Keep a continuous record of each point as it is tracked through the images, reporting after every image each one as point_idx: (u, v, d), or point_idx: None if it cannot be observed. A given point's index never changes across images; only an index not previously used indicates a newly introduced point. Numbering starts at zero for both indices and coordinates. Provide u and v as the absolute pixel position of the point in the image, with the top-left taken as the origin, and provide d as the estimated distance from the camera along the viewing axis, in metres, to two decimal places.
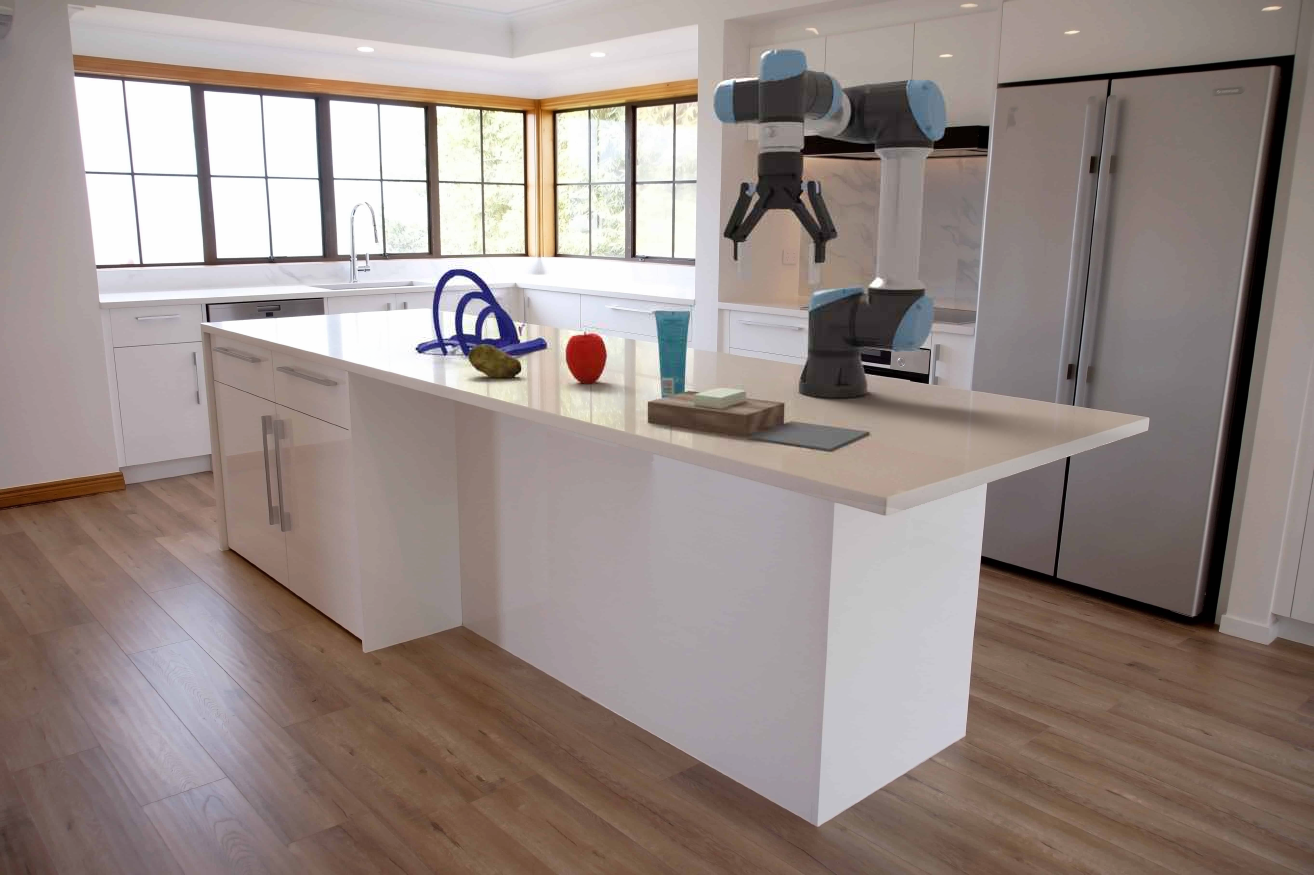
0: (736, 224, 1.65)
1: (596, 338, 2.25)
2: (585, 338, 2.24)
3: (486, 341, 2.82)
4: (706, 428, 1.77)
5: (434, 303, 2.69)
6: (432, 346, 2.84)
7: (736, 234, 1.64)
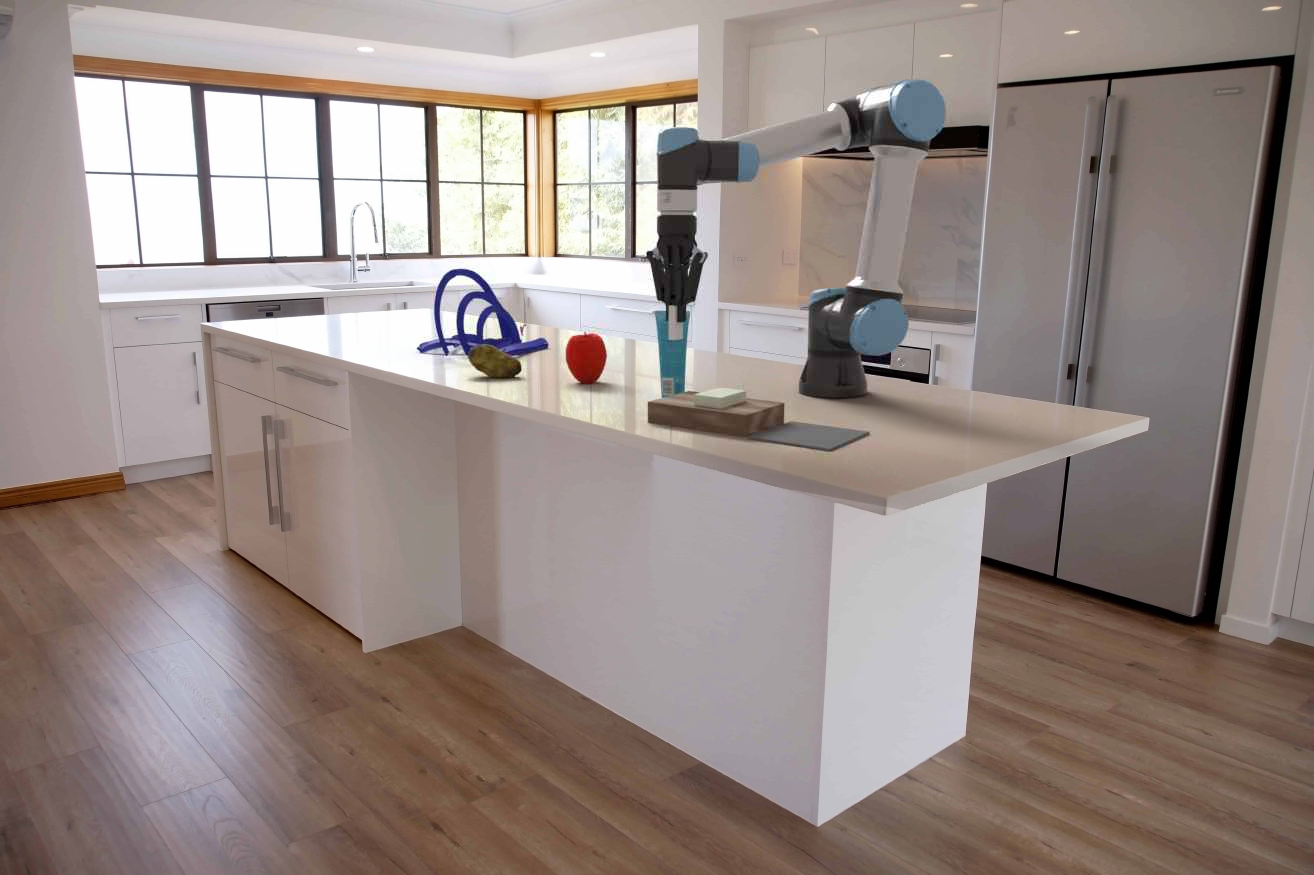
0: (662, 286, 1.85)
1: (596, 338, 2.25)
2: (585, 338, 2.24)
3: (487, 341, 2.82)
4: (706, 428, 1.77)
5: (435, 303, 2.69)
6: (434, 346, 2.84)
7: (665, 298, 1.84)
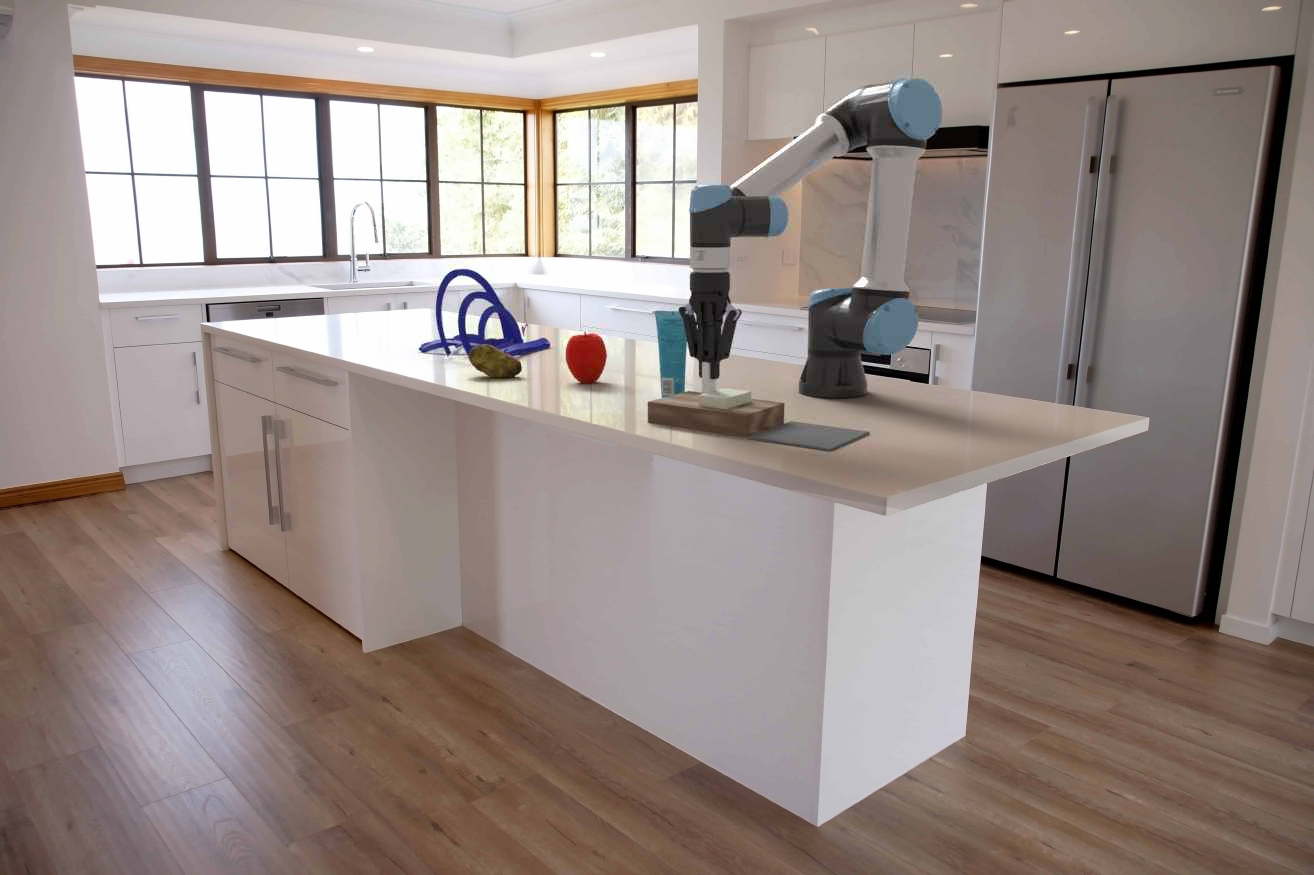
0: (695, 342, 1.83)
1: (596, 338, 2.25)
2: (585, 338, 2.24)
3: (489, 341, 2.82)
4: (706, 428, 1.77)
5: (437, 303, 2.69)
6: (435, 346, 2.84)
7: (698, 355, 1.82)
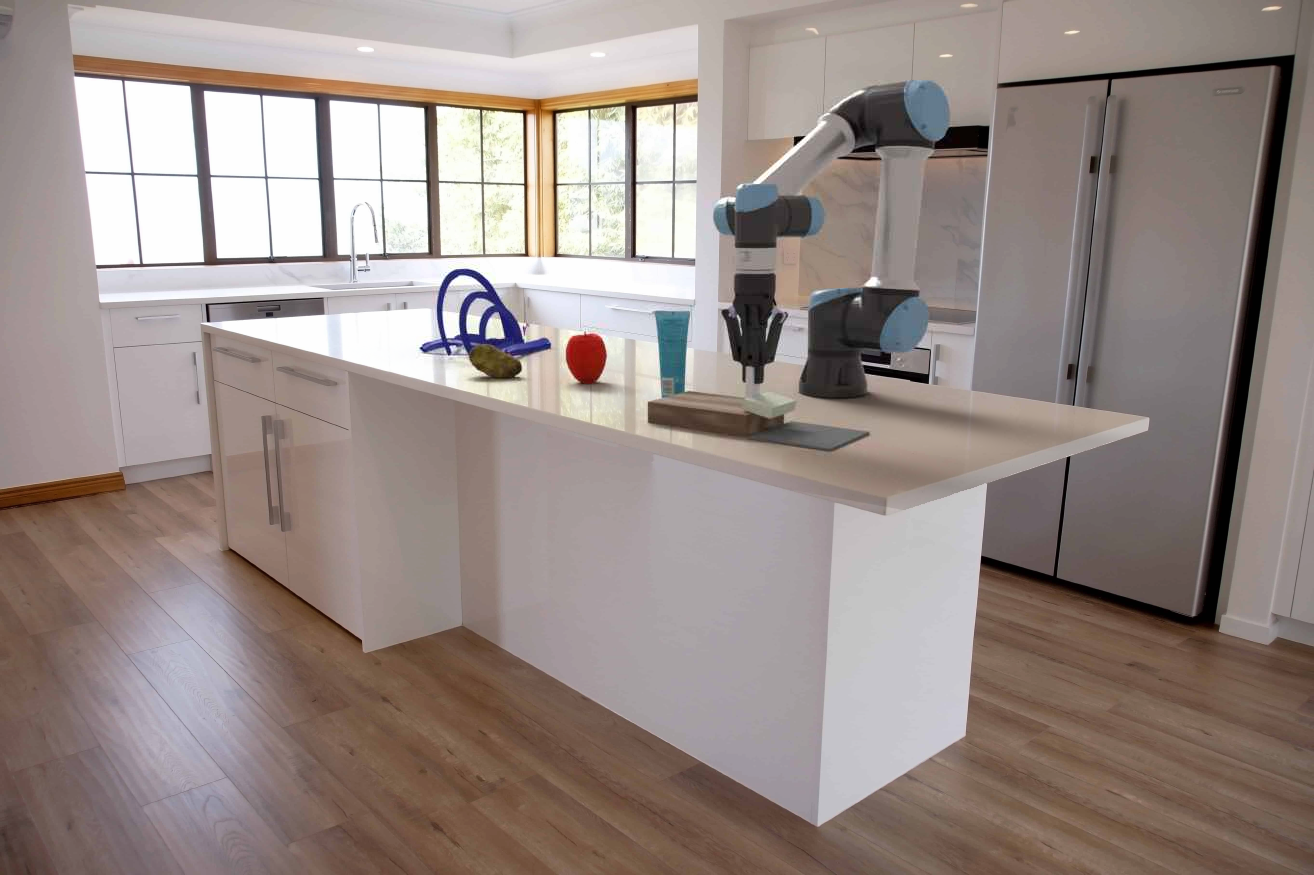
0: (738, 346, 1.78)
1: (596, 338, 2.25)
2: (585, 338, 2.24)
3: (490, 341, 2.82)
4: (706, 428, 1.77)
5: (438, 303, 2.69)
6: (436, 346, 2.84)
7: (742, 359, 1.76)
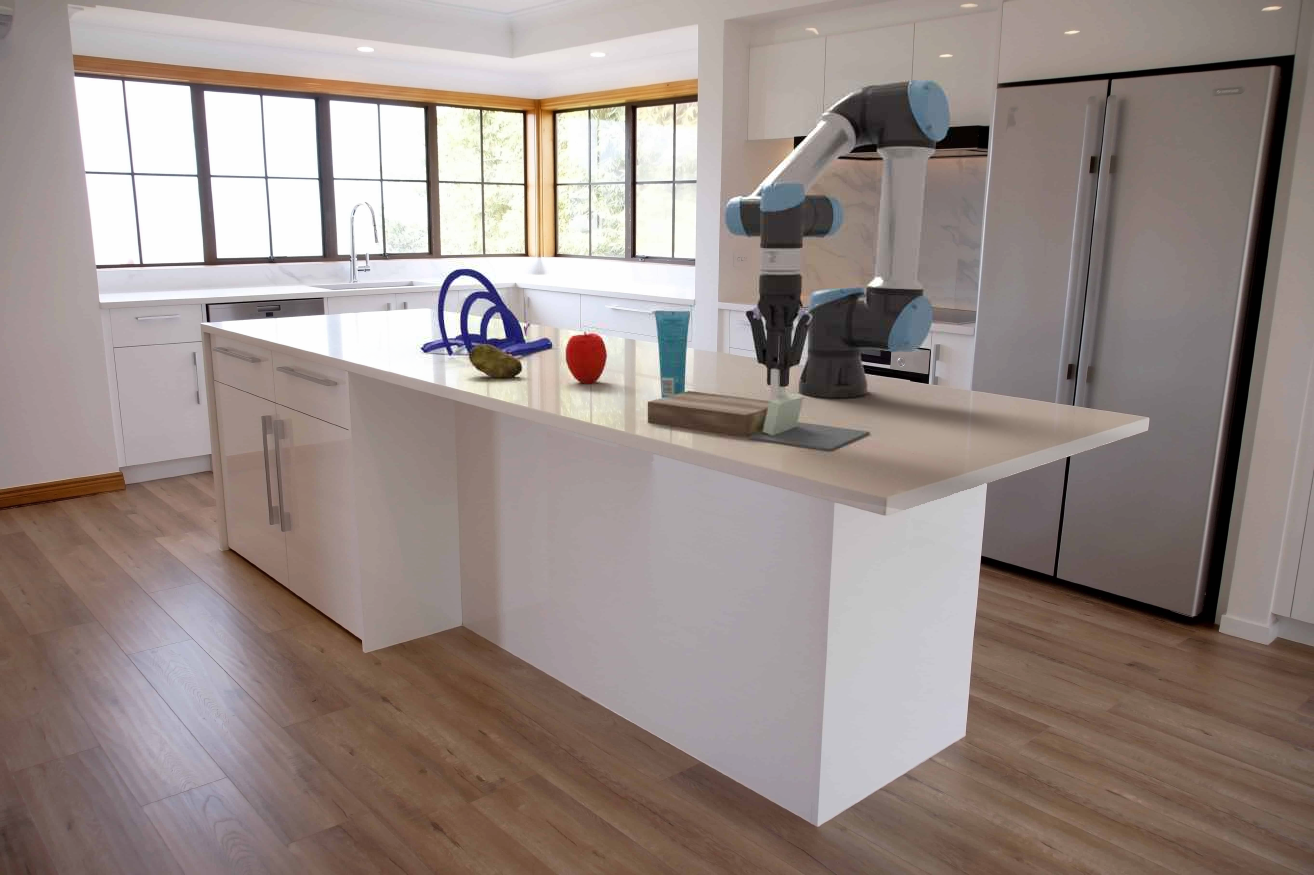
0: (763, 348, 1.75)
1: (596, 338, 2.25)
2: (585, 338, 2.24)
3: (491, 341, 2.83)
4: (706, 428, 1.77)
5: (439, 303, 2.69)
6: (438, 346, 2.84)
7: (767, 361, 1.73)
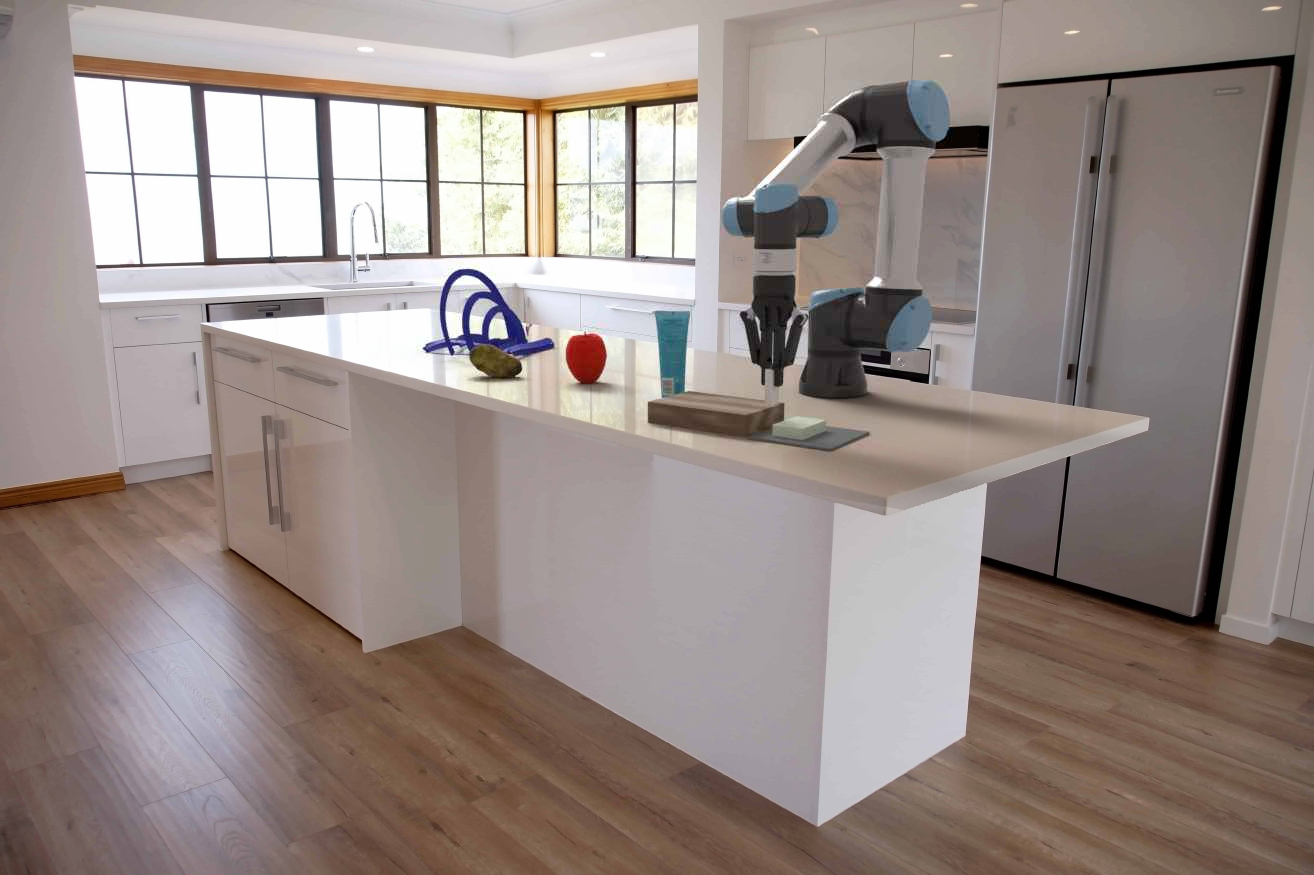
0: (757, 348, 1.75)
1: (596, 338, 2.25)
2: (585, 338, 2.24)
3: (493, 341, 2.83)
4: (706, 428, 1.77)
5: (441, 303, 2.70)
6: (440, 346, 2.84)
7: (761, 361, 1.74)
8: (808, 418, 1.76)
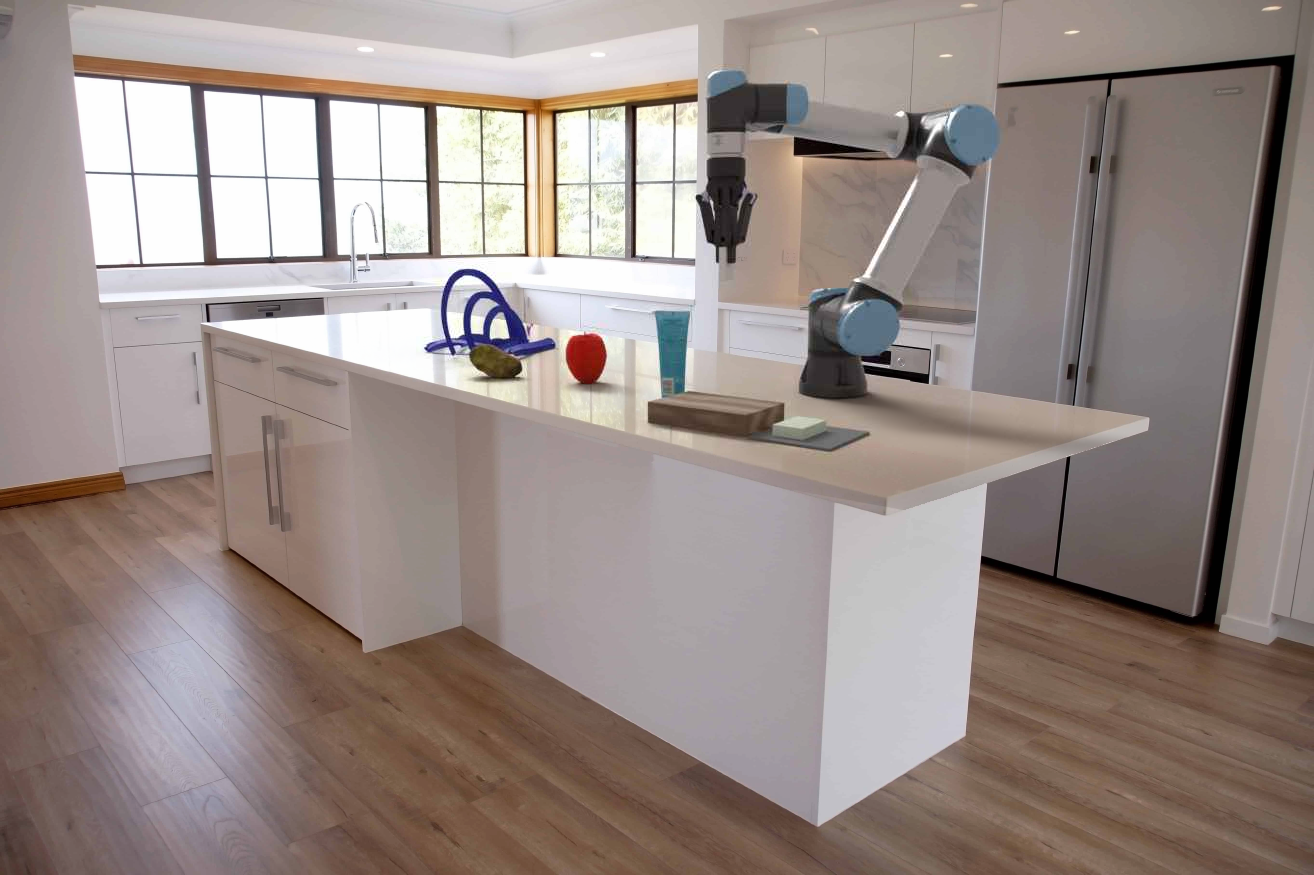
0: (712, 229, 1.90)
1: (596, 338, 2.25)
2: (585, 338, 2.24)
3: (494, 341, 2.83)
4: (706, 428, 1.77)
5: (442, 303, 2.70)
6: (441, 346, 2.85)
7: (715, 240, 1.89)
8: (808, 418, 1.76)
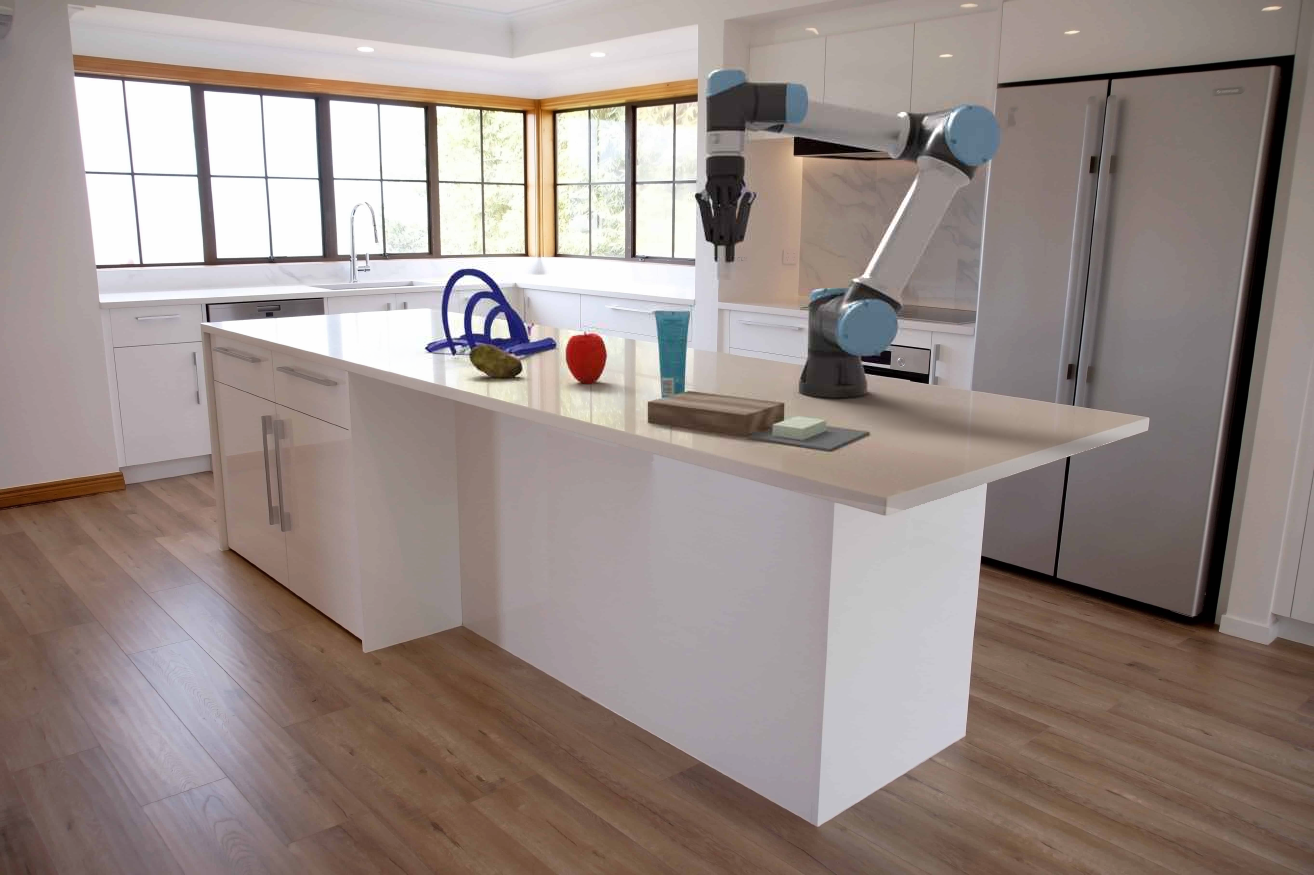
0: (711, 227, 1.90)
1: (596, 338, 2.25)
2: (585, 338, 2.24)
3: (495, 341, 2.83)
4: (706, 428, 1.77)
5: (443, 303, 2.70)
6: (442, 345, 2.85)
7: (714, 239, 1.89)
8: (808, 418, 1.76)
